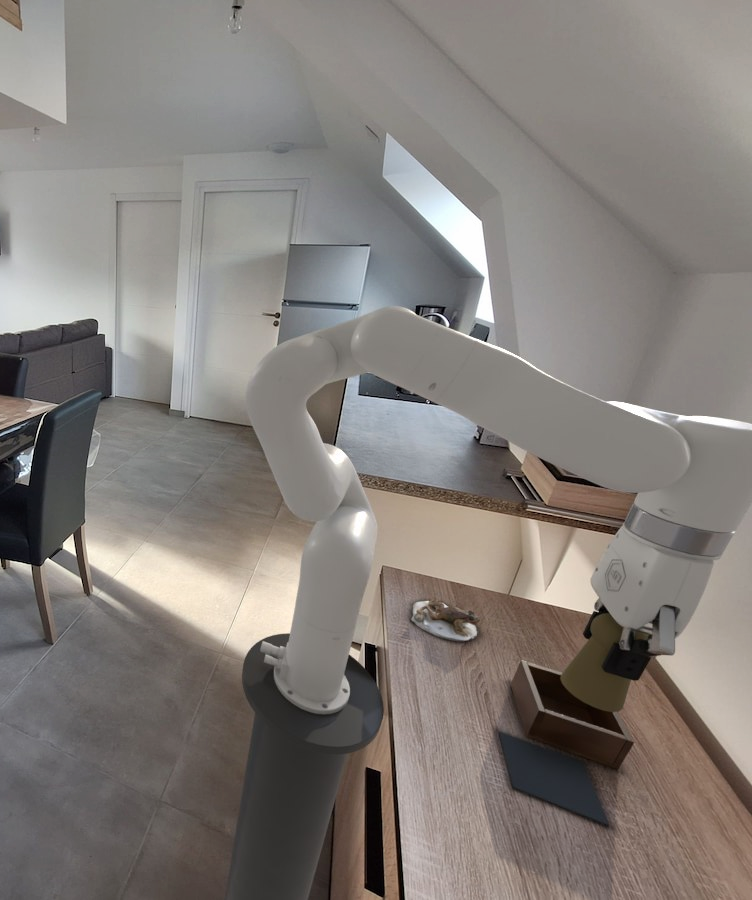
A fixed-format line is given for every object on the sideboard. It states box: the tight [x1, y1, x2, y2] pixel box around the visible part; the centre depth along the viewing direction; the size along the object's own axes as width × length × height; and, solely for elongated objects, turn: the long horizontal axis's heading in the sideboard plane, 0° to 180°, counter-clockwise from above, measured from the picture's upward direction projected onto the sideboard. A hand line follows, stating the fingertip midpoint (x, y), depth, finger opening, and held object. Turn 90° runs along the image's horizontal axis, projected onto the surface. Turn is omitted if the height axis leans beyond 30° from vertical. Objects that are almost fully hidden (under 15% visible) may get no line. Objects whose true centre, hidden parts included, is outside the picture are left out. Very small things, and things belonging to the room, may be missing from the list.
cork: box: [560, 613, 649, 713], centre depth 56 cm, size 6×6×11 cm
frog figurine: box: [410, 597, 481, 642], centre depth 91 cm, size 12×12×4 cm
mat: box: [498, 731, 610, 827], centre depth 63 cm, size 10×9×1 cm
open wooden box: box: [510, 659, 635, 770], centre depth 69 cm, size 11×11×6 cm
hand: (608, 655), depth 56 cm, fingers closed on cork, 5 cm apart
